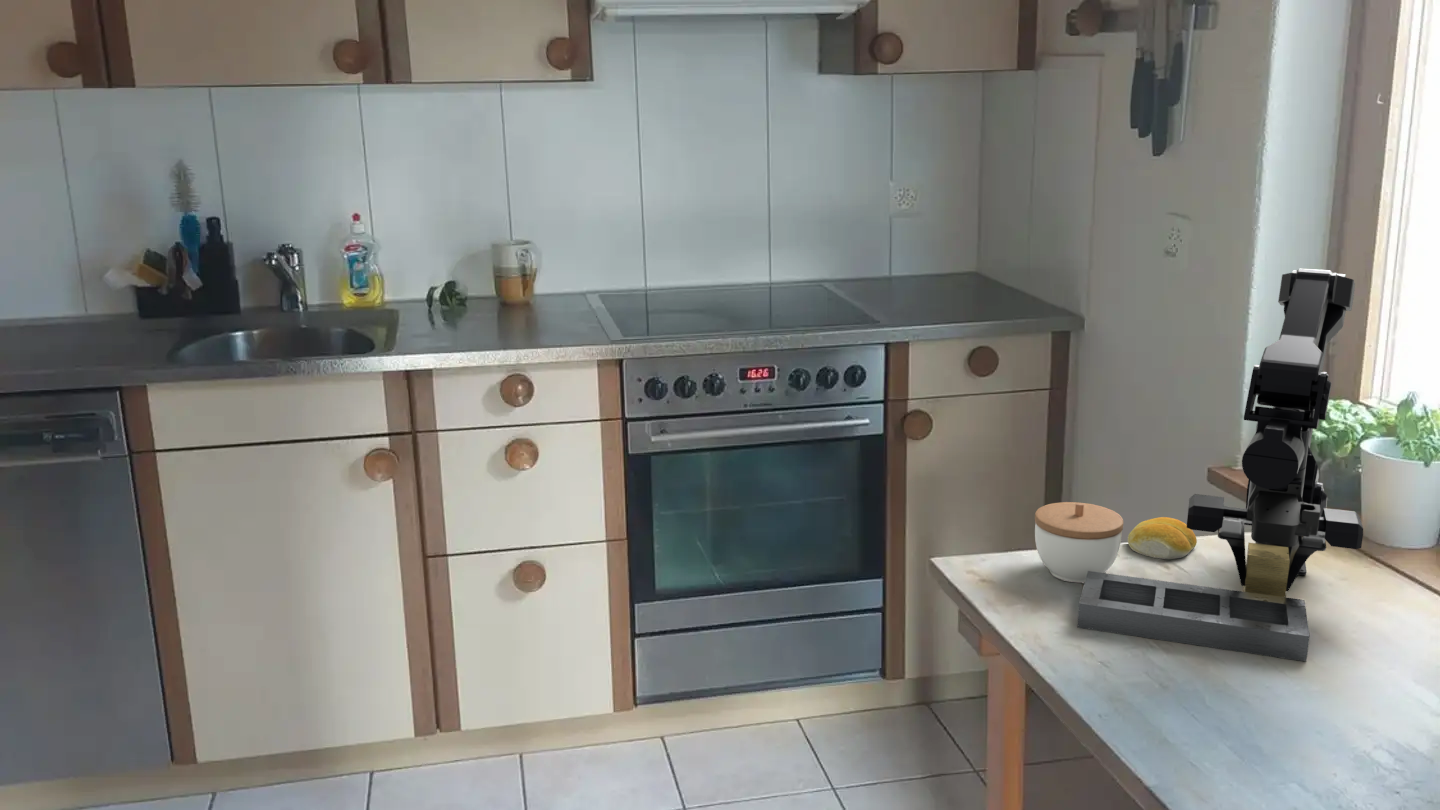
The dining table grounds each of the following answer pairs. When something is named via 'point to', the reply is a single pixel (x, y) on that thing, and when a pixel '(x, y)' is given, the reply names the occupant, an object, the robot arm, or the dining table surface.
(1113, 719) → the dining table surface
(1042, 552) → the lidded jar
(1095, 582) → the grey slotted tray
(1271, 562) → the brass block
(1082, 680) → the dining table surface
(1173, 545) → the bread roll
